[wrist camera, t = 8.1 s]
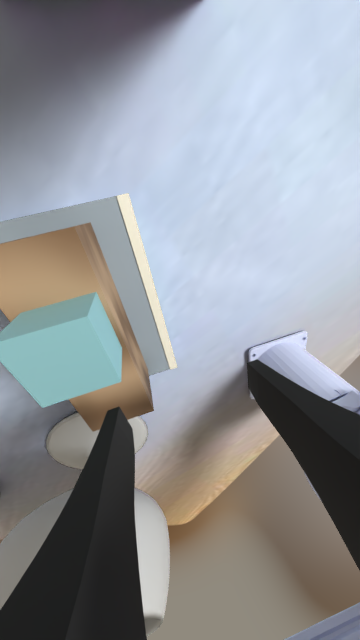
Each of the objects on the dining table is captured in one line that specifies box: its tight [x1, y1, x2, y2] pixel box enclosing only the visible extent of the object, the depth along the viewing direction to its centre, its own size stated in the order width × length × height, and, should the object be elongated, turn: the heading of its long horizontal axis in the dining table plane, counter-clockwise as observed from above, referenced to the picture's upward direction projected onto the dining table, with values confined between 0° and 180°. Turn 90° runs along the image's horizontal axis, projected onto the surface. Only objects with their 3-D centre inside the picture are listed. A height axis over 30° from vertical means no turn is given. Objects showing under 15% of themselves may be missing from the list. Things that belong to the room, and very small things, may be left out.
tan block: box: [0, 222, 154, 432], centre depth 15 cm, size 14×5×5 cm, turn 11°
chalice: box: [0, 412, 170, 637], centre depth 20 cm, size 14×14×15 cm
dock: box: [0, 193, 177, 376], centre depth 17 cm, size 16×11×2 cm
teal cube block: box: [0, 292, 122, 408], centre depth 10 cm, size 4×4×3 cm
